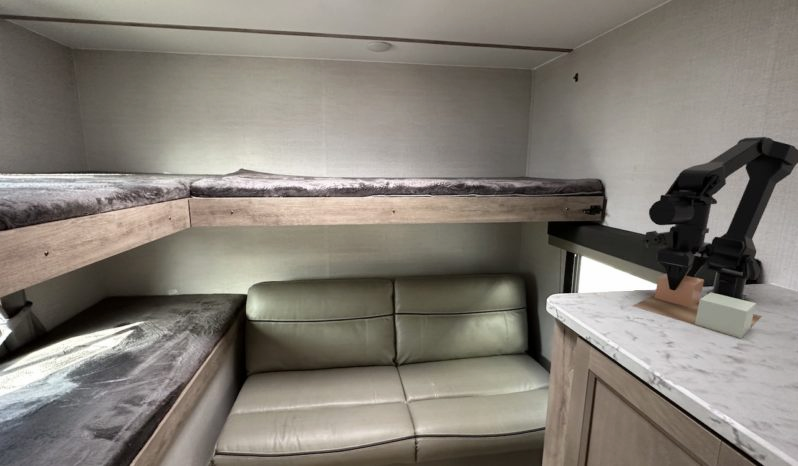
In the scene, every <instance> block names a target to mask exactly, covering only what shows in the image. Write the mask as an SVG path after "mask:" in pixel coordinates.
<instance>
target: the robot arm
mask: <svg viewBox="0 0 798 466" xmlns="http://www.w3.org/2000/svg"><path fill="white" fill-rule="evenodd" d="M797 164H798V148H796V147H795V145H791V144H790V143H789V144H788V143H785V142H781V141H777V140H774V139H772V138H771V137H766V136H754V137H744V138H742V139H741V138H740V139H739V140H738V142H737V143H736V144H734V145H733V146H732V147H730V148H729V149H727V150H725V151H723V152H722V153H721V154H719V155H718V156H715V158H713V159H712V160H709V161H708V162H705V163H701V164H697V165H692V166H690V167H688V168H685V169H683V170H682V171H680V173H679V174H678V176H677V177H676V178H675V180H674V182H672V184H671V185H670V187H669V188H668V190H667V191H666V193H665V194H661V195H660V199H659V200H657V201H655V202H654V203H653V204H652V205H651V207H650V208H648V209H649V210H648V215H649V218H650V220H651V222H652V223H654V224H655V225H658V226H670V228H669V231H664V232H663V231H662V232H657V231H656V230H652V231H646V233H645V235H644V236H642V237H643V239H642V243H644V244H645V245H646V248H647V249H651V248H654V247H661V246H665V247H664V248H662V249H659V250H658V251H656V253H655V259H654V260H655V261H657V263H658V264H659V265H661V266H662V267H664V268H665V271H666V273H667V278H668V283H669V289H670V290H674V291H675V290H676V289H677V288H678V286H679V285H680V283H681V282H682V281H683V279H684V278H685V276H690V277H694V278H696V276H697V274H698V273H699V271H701V269H702V268H703V267H704V266H705V264H706V270H708V271H712V272H716V273H715V277H714V282H713V287H712V289H711V290H709V291H707V292H706V293H707V294H709V293H710V292H711V293H715V294H719V295H724V296H728V297H732V298H736V299H740V300H744V301H745V299H746V298H747V295H746V294H744V290H745V286H746V282H747V280H752V281H755V280H757V279H758V277H759V276H760V273H761V271H762V269H761V268H760V266H759V264H758V262H757V260H756V254H757V248H756V246H755V243H754V241H753V239H754V236H755V233H756V231H757V229H758V227H759V224H760V222H761V219H762V218H763V215H764V212H765V210H766V209H767V206H768V204H769V201H770V199H771V197H772V194H773V192H774V190H775V188H776V185H777V184H778V183H779V182H781V181H782V180H784V179H785V178H786V177H788V176H790V175H791V174H792V172H793V170H794V168H795V167H796V166H797ZM744 166H745V172H746V174H747V176H748V178H749V180H748V181H747V184H746V186H745V189H744V191H743V193H742V196H741V198H740V200H739V202H738V205H737V206H736V207H737V208H736V210H735V213H734V214H733V217H732V218H731V219H732V220H731V222H730V224H729V226H728V228H727V231H726V233H724V234H723V235H721V236H715V237H713V238H712V240H711V243H710V242H706V241H705V238H706V234H708V233H709V232H710V228H709V227H708V222H709V219H710V218H709V217H710V212H711V207H712V205H717V203H718V201H717V200H716V198H715V197H713V196H714V195H716V193H717V194H718V192H719V191H720V190H721V189H722V188H724V187H725V186H726V184H727V180H726V179H727V178H728V177H729V176H731V175H732V174H735V172H736V171H738V170H740V169H741V168H743V167H744ZM671 225H672V226H671ZM704 254H706V255H704ZM666 273H665V274H666ZM707 294H706V295H707Z"/></svg>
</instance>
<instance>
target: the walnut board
mask: <svg viewBox="0 0 798 466" xmlns="http://www.w3.org/2000/svg"><path fill="white" fill-rule="evenodd" d="M655 294H656V293H654V294H653V295H651V296H649V297H647V298H645V299H643V300H641V301H639V302H637V303H635V304H633V305H632V307H635V308H638V309H641V310H644V311H648V312H651V313H653V314H657V315H660V316H664V317H667V318H670V319H674V320H676V321H679V322H682V323H686V324H690V325H693V326H697V327H700V328H703V329H705V330H710V331H713V332H716V333H719V334H722V335H725V336H729V337H732V338H734V339H739V340H741V339H742V338H743V337H744V336H745V335H746V334H747V332H746V333H745V334H744V335H743V336H742V338H739V337H735V336H732V335H729V334H726V333H722V332H719V331H716V330H712V329H709V328H706V327H703V326H699V325H696V324H695V321H696V316H697V311H698V306H699V302H698V303H696V304H695V305H693V306H692V307H690V308H689V307H686V306H682V305H678V304H675V303H671V302H667V301H664V300H660V299H657V298H655ZM762 317H763V316H762V315H760V314H756V313H754V314H753V318H752V322H751V327H750V329H751V328H752V327H754V326H755V324H756V323H757V322H758V321H759V320H760V319H761V318H762Z"/></svg>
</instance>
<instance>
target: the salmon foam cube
mask: <svg viewBox="0 0 798 466" xmlns="http://www.w3.org/2000/svg"><path fill="white" fill-rule="evenodd" d="M704 282H705V279H703V278H698V277H690V276H685V278H684V279H683V281H682V282H681V283H680V285H679V286H678V288H677V289H676V290H675V291H674V290H670V289H669V283H668V278H667V273H664V274H661V275H660V276H658V277H657V282H656V283H657V284H656V288H655V293H654V294H655V298H657V299H660V300H664V301H667V302H671V303H675V304H678V305H682V306H686V307H689V308H690V307H692V306H693V305H695V304H696V303H698V302H699V301H700V299H701V298H702V294H703V293H702V292H703V287H704V284H705V283H704Z"/></svg>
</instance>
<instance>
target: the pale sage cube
mask: <svg viewBox="0 0 798 466" xmlns="http://www.w3.org/2000/svg"><path fill="white" fill-rule="evenodd" d="M756 304H757V303H756V302H752V301H748V300H745V299H744V300H740V299H736V298H732V297H728V296H724V295H719V294H715V293H711V292H710V293H709V294H706V295H704V296H703V297H701V299H700V301H699V306H698V311H697V316H696V321H695V324H696V325H699V326H703V327H706V328H709V329H712V330H716V331H719V332H722V333H726V334H729V335H732V336H735V337H739V338H741V339H742V338H743V337H744V336H745V335H746V334H747V332H749V330H751V328H752V327H751V322H752V318H753V314H755V309H756ZM696 325H695V326H696ZM699 326H698V327H699ZM750 327H751V328H750ZM706 328H705V329H706ZM709 329H708V330H709ZM712 330H711V331H712ZM719 332H718V333H719ZM722 333H721V334H722ZM745 333H746V334H745ZM744 334H745V335H744ZM743 335H744V336H743ZM732 336H731V337H732ZM742 336H743V337H742ZM735 337H734V338H735Z"/></svg>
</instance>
